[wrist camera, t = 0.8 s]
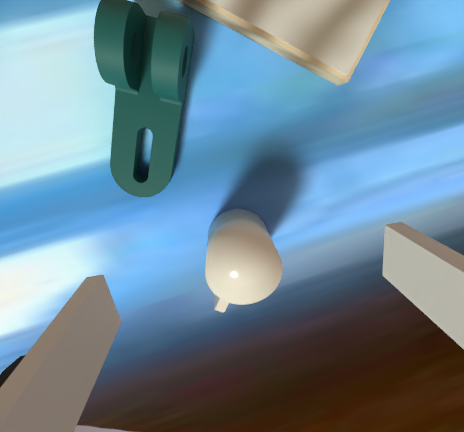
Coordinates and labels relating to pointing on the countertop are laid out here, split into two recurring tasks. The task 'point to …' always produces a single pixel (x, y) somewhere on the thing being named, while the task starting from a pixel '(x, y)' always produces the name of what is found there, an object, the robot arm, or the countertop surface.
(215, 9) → the tray
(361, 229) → the countertop surface
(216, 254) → the mug
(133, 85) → the bracket
